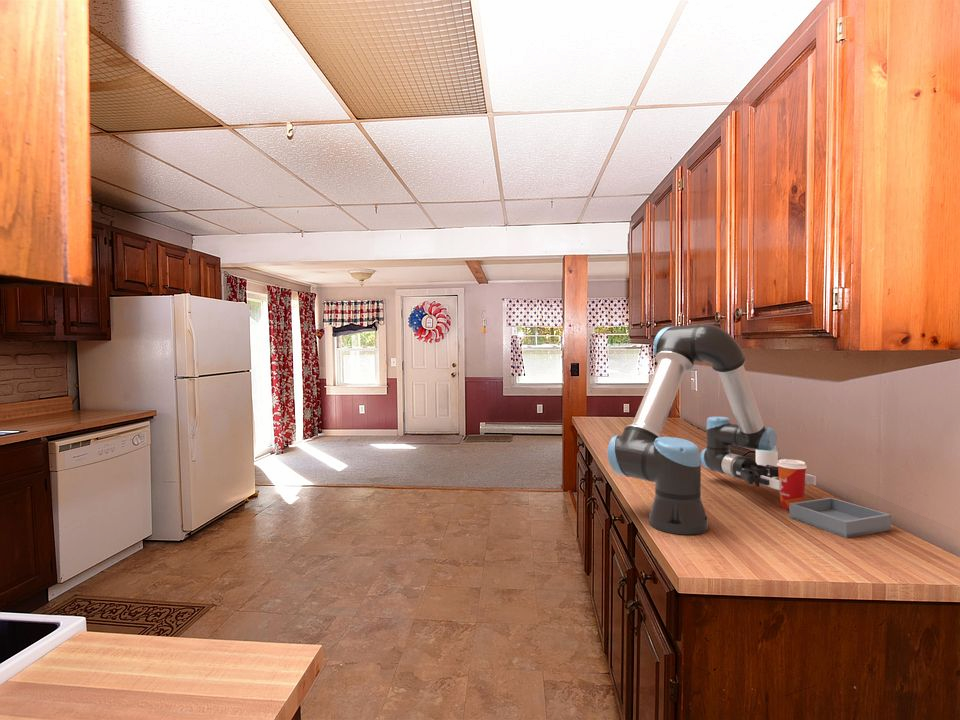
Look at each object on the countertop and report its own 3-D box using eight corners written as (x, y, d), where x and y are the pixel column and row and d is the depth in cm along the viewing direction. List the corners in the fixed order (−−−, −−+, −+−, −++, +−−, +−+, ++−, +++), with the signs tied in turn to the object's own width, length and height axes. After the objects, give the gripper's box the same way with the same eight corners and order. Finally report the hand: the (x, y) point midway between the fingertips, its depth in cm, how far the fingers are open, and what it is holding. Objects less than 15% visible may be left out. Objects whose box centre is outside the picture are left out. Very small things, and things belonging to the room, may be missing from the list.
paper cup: (776, 502, 152) (776, 457, 152) (806, 505, 148) (806, 460, 148) (777, 509, 146) (777, 463, 145) (808, 513, 142) (808, 465, 141)
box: (846, 538, 124) (846, 522, 124) (789, 517, 139) (789, 503, 139) (891, 529, 128) (891, 514, 128) (831, 510, 144) (831, 497, 144)
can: (771, 481, 175) (770, 448, 175) (751, 477, 181) (751, 445, 181) (782, 478, 179) (781, 446, 178) (762, 474, 185) (762, 443, 184)
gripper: (768, 474, 169) (829, 491, 149) (710, 481, 162) (765, 500, 142) (768, 452, 169) (828, 466, 149) (710, 459, 162) (765, 474, 141)
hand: (798, 483), depth 145 cm, fingers open, 13 cm apart
